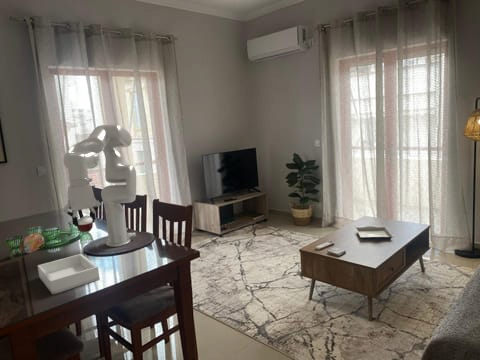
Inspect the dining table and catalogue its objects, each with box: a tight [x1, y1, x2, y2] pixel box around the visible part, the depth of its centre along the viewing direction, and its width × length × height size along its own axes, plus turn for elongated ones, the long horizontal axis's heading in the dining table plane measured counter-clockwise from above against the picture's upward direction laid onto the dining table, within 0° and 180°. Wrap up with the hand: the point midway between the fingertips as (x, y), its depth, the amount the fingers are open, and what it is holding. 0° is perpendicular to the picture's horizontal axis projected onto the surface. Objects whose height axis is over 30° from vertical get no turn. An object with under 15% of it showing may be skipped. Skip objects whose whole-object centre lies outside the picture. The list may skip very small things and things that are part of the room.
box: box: [37, 253, 100, 295], centre depth 151 cm, size 18×22×6 cm
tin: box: [19, 232, 46, 254], centre depth 189 cm, size 15×3×8 cm, turn 168°
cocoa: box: [76, 210, 94, 233], centre depth 154 cm, size 10×6×12 cm, turn 27°
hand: (84, 223), depth 154 cm, fingers closed on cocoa, 6 cm apart
